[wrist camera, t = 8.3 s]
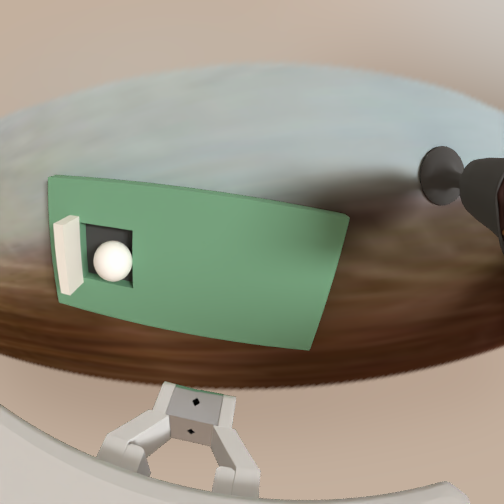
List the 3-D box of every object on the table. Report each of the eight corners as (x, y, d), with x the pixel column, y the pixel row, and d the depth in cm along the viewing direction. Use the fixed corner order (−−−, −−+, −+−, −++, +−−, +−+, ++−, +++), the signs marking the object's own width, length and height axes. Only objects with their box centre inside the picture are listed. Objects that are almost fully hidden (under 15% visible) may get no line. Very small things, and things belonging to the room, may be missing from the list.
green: (345, 213, 21) (360, 228, 18) (307, 341, 26) (313, 369, 22) (56, 174, 20) (30, 182, 17) (65, 296, 25) (46, 315, 21)
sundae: (428, 229, 21) (554, 328, 7) (398, 158, 19) (559, 207, 5) (478, 193, 20) (606, 256, 6) (453, 123, 18) (604, 144, 4)
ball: (139, 246, 21) (99, 252, 18) (139, 284, 22) (102, 292, 20) (123, 232, 23) (88, 237, 20) (123, 267, 24) (90, 274, 21)
